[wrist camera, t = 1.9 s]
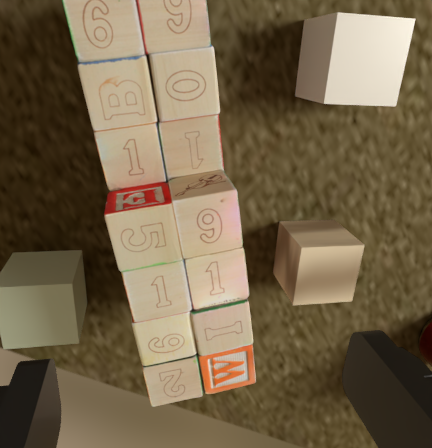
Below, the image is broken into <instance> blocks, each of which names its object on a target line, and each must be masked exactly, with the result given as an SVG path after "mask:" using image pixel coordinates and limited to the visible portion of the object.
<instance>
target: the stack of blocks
mask: <svg viewBox="0 0 432 448" xmlns="http://www.w3.org/2000/svg"><path fill="white" fill-rule="evenodd" d="M62 3H63V7H64V11H65V15H66V19H67V23H68V27H69V31H70V35H71V40H72V43H73V47H74V50H75V54H76V57H77V60H78V65H77V66H78V71H79V76H80V80H81V84H82V88H83V92H84V96H85V100H86V104H87V108H88V112H89V116H90V120H91V124H92V127H93V130H94V136H95V142H96V145H97V150H98V153H99V157H100V161H101V164H102V168H103V172H104V176H105V180H106V183H107V187H108V189H109V190H110V192H109V193H108V196H107V202H106V206H105V211H104V217H105V221H106V225H107V228H108V232H109V236H110V239H111V243H112V247H113V251H114V254H115V258H116V262H117V266H118V269H119V271H120V272H121V273H122V278H123V282H124V286H125V290H126V294H127V298H128V301H129V305H130V309H131V313H132V327H133V331H134V335H135V339H136V343H137V346H138V350H139V355H140V359H141V363H142V367H143V374H144V378H145V382H146V387H147V391H148V395H149V399H150V403H151V405H152V406H159V405H163V404H168V403H172V402H177V401H181V400H186V399H191V398H196V397H201V396H202V395H203V393H205V394H212V393H217V392H221V391H225V390H229V389H233V388H237V387H241V386H245V385H249V384H253V383H255V382H256V376H255V366H254V355H253V346H252V343H253V334H252V325H251V316H250V308H249V302H248V299H247V297H248V296H249V285H248V277H247V268H246V259H245V252H244V248H243V238H242V229H241V221H240V211H239V203H238V193H237V190H236V188H235V187H234V185H233V184H232V182H231V181H230V179H229V178H228V176H227V175H226V173H225V172H224V164H223V154H222V144H221V134H220V123H219V113H220V104H219V93H218V81H217V72H216V63H215V54H214V48H213V46H212V45H211V41H210V29H209V19H208V9H207V0H62Z"/></svg>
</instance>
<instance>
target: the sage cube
mask: <svg viewBox="0 0 432 448" xmlns="http://www.w3.org/2000/svg"><path fill="white" fill-rule="evenodd" d="M86 308H87V295H86V285H85V275H84V265H83V255H82V250H69V251H43V252H16V253H13V254H12V255H11V257H10V258H9V260H8V261H7V263H6V264H5V266H4V268H3V269H2V271H1V272H0V335H1V340H2V345H3V349H14V348H26V347H39V346H51V345H63V344H76V343H79V341H80V336H81V331H82V327H83V322H84V317H85V312H86Z"/></svg>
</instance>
